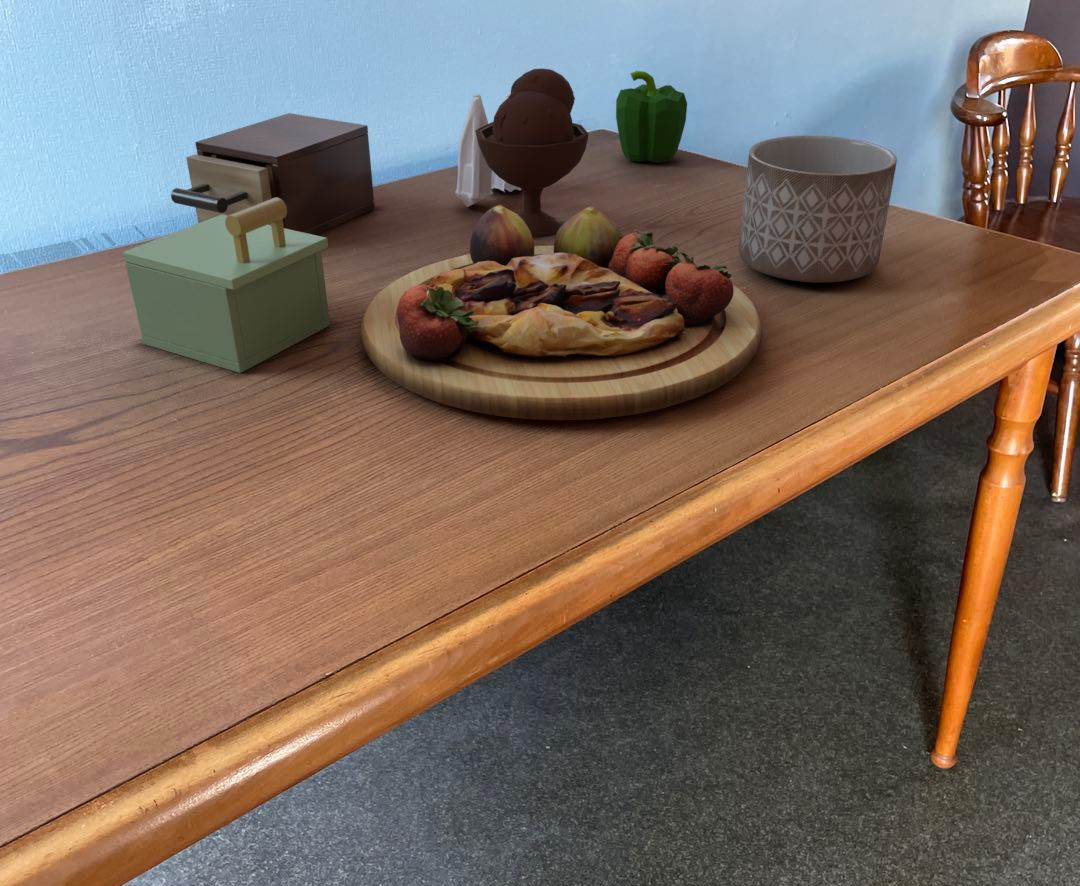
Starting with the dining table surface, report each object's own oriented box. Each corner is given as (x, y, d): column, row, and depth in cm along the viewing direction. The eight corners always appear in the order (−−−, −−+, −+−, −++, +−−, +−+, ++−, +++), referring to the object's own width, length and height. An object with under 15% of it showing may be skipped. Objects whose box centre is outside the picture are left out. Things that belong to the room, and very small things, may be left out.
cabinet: (289, 246, 107) (276, 156, 102) (210, 228, 111) (194, 141, 106) (375, 208, 116) (367, 125, 111) (299, 193, 121) (289, 112, 116)
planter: (905, 279, 99) (928, 162, 93) (792, 303, 94) (808, 182, 88) (818, 237, 108) (833, 129, 102) (711, 257, 104) (721, 145, 98)
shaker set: (478, 217, 114) (474, 106, 108) (444, 211, 116) (438, 101, 109) (533, 186, 123) (532, 82, 116) (501, 181, 124) (498, 78, 118)
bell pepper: (687, 151, 134) (694, 65, 129) (679, 170, 128) (685, 79, 122) (620, 147, 136) (623, 61, 130) (608, 165, 130) (611, 76, 124)
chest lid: (328, 247, 87) (322, 191, 84) (233, 290, 79) (223, 230, 77) (223, 223, 91) (214, 170, 89) (124, 261, 84) (111, 205, 81)
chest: (330, 325, 91) (320, 245, 87) (240, 373, 83) (225, 288, 79) (236, 300, 95) (223, 223, 91) (143, 344, 88) (124, 262, 84)
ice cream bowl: (487, 209, 116) (483, 58, 108) (591, 213, 115) (595, 61, 106) (468, 242, 107) (462, 81, 99) (581, 247, 106) (584, 84, 98)
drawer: (238, 255, 102) (226, 182, 98) (166, 238, 106) (152, 167, 102) (351, 207, 114) (344, 140, 110) (283, 193, 118) (274, 128, 114)
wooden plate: (448, 470, 71) (441, 354, 67) (315, 301, 95) (303, 207, 90) (842, 376, 82) (860, 271, 78) (635, 246, 106) (639, 160, 102)
